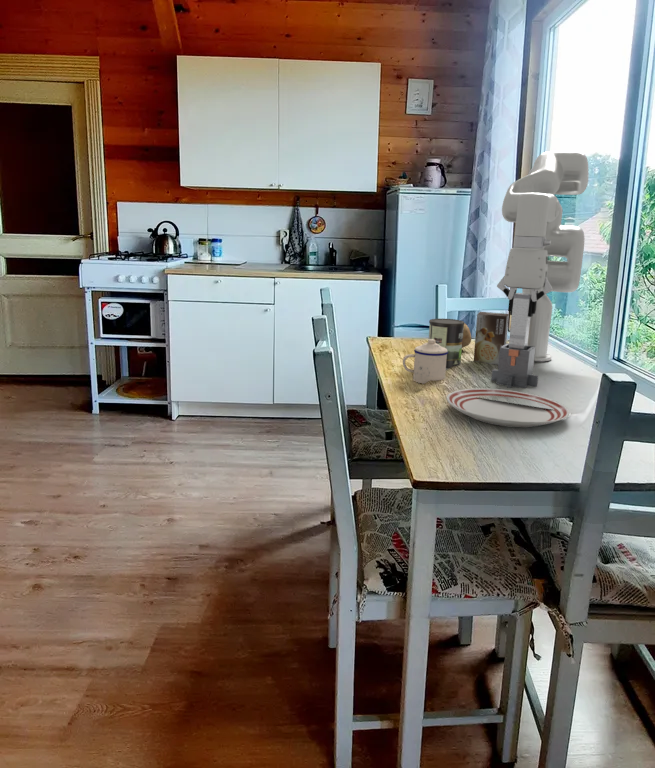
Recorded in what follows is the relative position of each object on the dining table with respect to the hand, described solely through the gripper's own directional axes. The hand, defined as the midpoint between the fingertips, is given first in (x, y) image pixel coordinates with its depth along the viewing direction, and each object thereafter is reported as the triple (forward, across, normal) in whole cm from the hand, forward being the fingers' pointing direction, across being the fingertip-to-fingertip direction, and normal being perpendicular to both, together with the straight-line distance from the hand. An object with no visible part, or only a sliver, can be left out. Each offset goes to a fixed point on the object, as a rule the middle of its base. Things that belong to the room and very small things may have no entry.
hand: (521, 314), depth 167 cm
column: (+16, 0, 0) cm, 16 cm away
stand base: (+20, 0, 0) cm, 20 cm away
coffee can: (+20, +24, -13) cm, 34 cm away
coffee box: (+20, +13, -24) cm, 34 cm away
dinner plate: (+20, -4, +26) cm, 33 cm away
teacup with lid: (+20, +23, +7) cm, 31 cm away
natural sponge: (+20, +29, -42) cm, 55 cm away
